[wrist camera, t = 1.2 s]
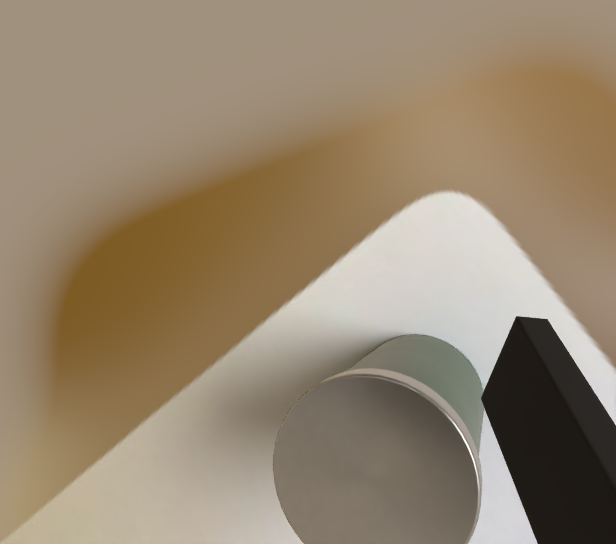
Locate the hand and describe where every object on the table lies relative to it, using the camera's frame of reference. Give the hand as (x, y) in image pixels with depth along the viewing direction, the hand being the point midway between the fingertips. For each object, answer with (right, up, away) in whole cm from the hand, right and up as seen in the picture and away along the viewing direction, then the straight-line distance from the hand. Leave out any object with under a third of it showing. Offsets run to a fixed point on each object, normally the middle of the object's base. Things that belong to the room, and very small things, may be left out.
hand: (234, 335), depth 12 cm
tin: (+7, -4, +13) cm, 15 cm away
